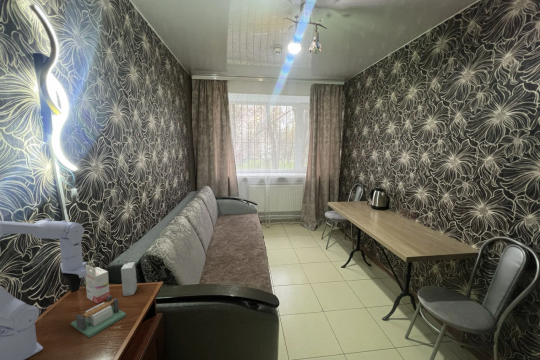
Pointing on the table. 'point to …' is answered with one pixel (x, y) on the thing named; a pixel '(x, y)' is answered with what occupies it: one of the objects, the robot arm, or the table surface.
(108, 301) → the strap
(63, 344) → the table surface
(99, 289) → the ink cartridge box
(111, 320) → the board
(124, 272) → the skincare box
